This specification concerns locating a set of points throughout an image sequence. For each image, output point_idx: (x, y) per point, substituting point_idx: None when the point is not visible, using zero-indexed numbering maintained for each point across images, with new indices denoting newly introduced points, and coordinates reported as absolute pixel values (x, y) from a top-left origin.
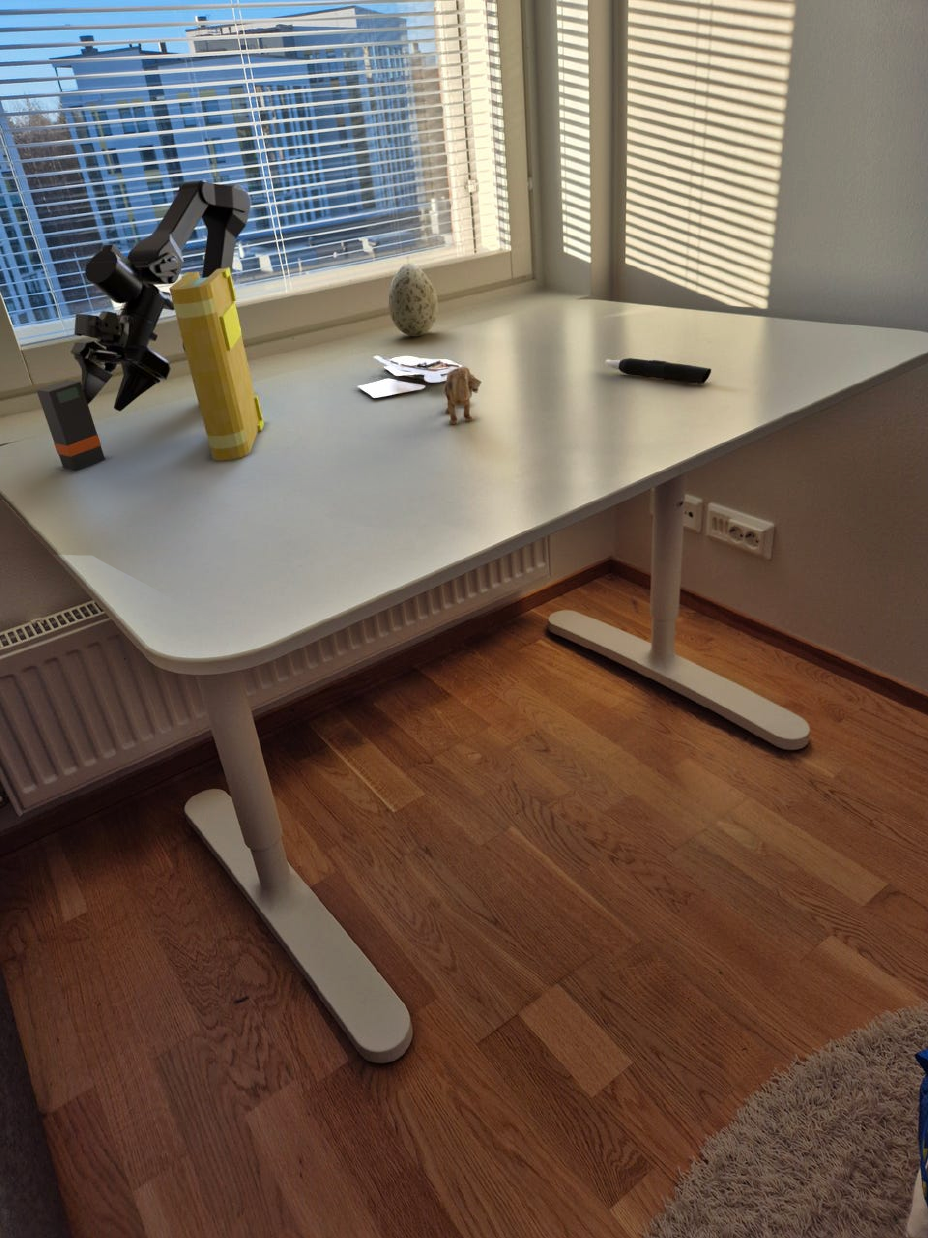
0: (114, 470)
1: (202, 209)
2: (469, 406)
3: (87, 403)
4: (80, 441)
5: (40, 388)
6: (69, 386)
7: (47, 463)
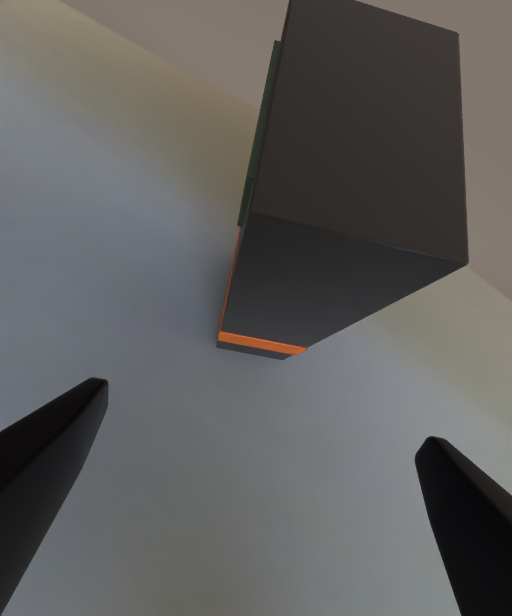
0: (107, 275)
1: None
2: None
3: (418, 466)
4: (233, 261)
5: (451, 51)
6: (266, 120)
7: None
